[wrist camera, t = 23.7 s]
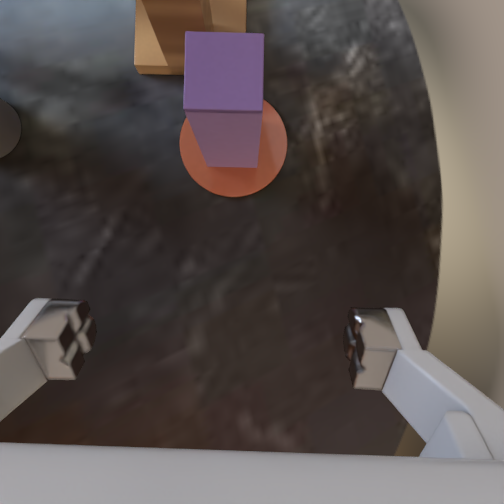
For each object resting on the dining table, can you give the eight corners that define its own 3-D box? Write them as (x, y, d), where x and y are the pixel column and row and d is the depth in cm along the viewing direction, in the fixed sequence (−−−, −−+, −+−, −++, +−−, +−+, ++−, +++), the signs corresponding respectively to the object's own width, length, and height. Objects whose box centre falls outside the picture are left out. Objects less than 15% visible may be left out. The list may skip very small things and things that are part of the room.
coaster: (270, 210, 32) (270, 209, 32) (167, 180, 32) (166, 179, 32) (299, 108, 33) (299, 106, 32) (197, 79, 33) (196, 77, 32)
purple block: (262, 110, 20) (264, 32, 20) (183, 108, 20) (185, 30, 20) (257, 167, 32) (258, 118, 32) (207, 166, 32) (208, 117, 32)
